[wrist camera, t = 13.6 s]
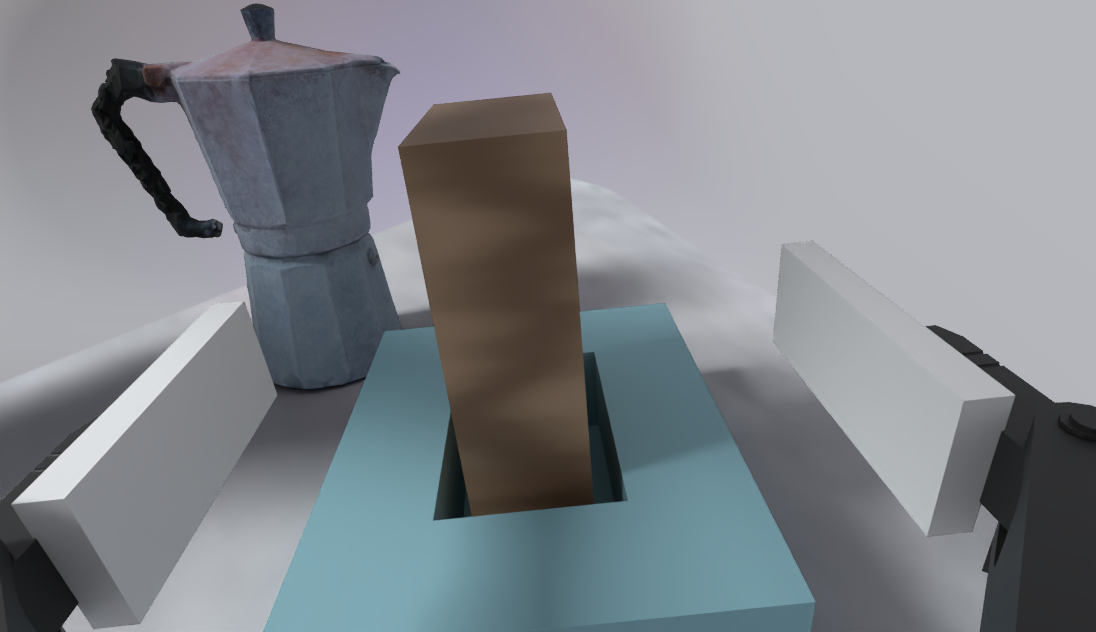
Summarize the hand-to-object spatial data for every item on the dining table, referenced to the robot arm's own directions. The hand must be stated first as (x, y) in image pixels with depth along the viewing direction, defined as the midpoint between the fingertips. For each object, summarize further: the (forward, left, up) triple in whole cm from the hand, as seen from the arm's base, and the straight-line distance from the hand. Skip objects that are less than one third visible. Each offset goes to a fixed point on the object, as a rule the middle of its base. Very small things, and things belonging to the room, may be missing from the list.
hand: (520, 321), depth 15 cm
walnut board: (0, +5, -11) cm, 12 cm away
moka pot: (-13, +20, -12) cm, 27 cm away
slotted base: (0, +5, -12) cm, 13 cm away
